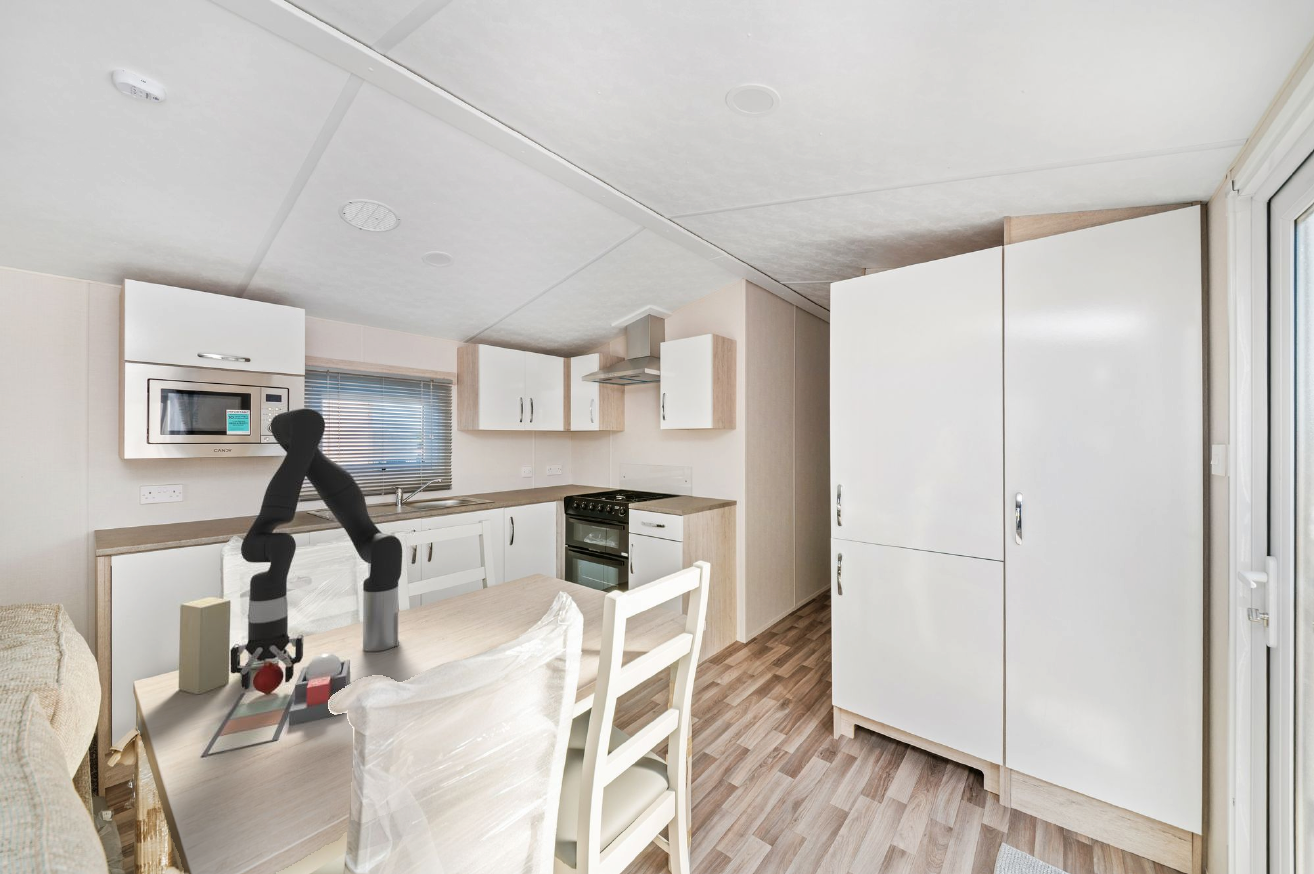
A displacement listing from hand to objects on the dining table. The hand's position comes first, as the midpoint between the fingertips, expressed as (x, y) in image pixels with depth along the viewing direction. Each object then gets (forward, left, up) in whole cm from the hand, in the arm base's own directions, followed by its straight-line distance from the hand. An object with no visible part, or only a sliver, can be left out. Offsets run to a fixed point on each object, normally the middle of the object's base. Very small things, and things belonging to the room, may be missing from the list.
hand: (267, 684), depth 120 cm
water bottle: (+5, -21, -3) cm, 22 cm away
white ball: (-12, +7, +1) cm, 14 cm away
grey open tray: (-12, +10, -3) cm, 16 cm away
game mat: (0, +10, -3) cm, 10 cm away
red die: (-12, +15, 0) cm, 19 cm away
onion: (0, 0, -2) cm, 2 cm away
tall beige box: (+15, -13, -3) cm, 20 cm away
